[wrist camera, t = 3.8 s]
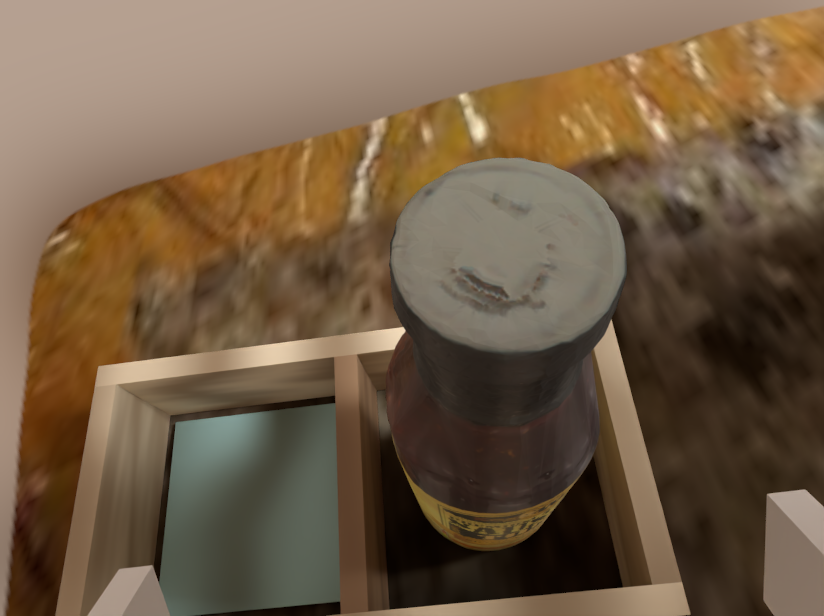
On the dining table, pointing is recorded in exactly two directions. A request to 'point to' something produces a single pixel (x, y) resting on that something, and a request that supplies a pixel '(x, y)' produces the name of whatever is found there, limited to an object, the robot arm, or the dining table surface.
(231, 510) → the birch caddy
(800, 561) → the robot arm
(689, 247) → the dining table surface
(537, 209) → the sauce bottle
